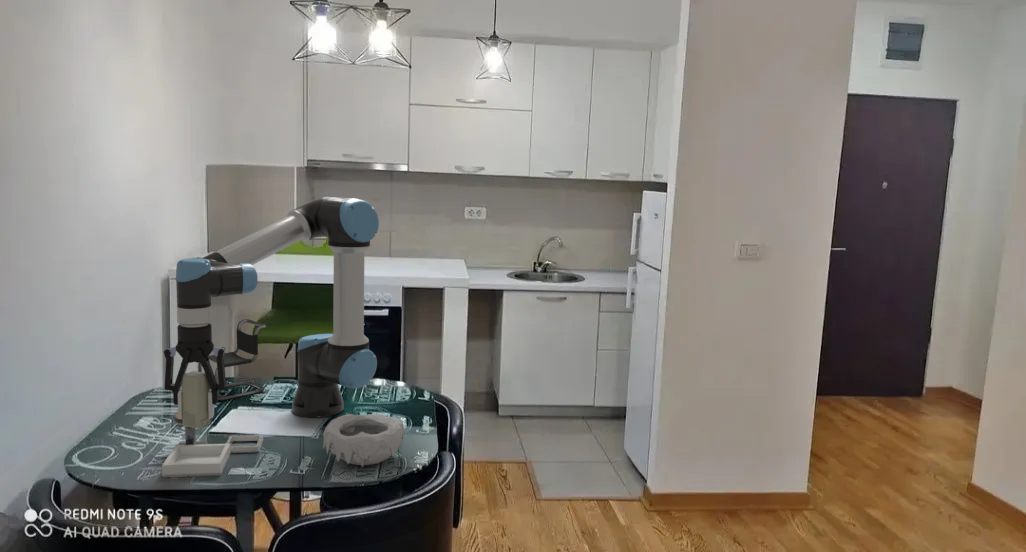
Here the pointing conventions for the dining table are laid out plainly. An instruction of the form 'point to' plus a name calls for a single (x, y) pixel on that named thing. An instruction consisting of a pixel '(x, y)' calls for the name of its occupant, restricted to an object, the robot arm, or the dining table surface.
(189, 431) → the mounted dome knob
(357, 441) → the bowl
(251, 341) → the chair
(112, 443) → the dining table surface
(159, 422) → the dining table surface
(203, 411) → the box
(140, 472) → the dining table surface
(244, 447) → the pin seat
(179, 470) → the tray
